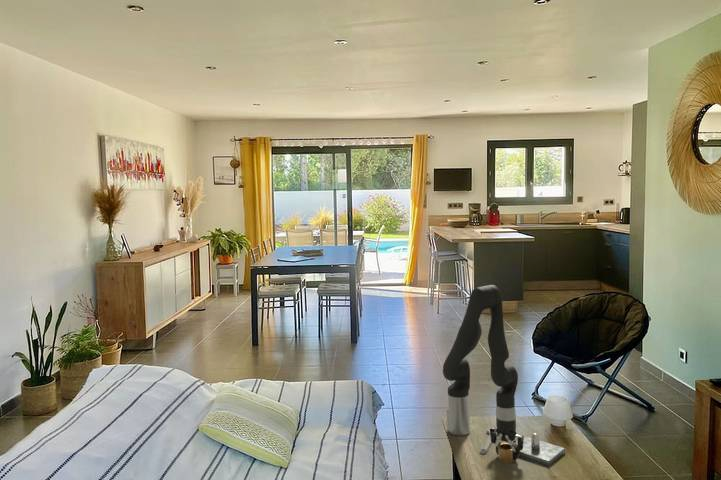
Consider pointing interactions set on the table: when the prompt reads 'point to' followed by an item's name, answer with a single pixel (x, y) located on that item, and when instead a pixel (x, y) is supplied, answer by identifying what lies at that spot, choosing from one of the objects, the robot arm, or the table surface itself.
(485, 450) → the adjustable wrench
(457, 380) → the robot arm
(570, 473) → the table surface
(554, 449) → the block
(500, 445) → the wooden octagonal ring
